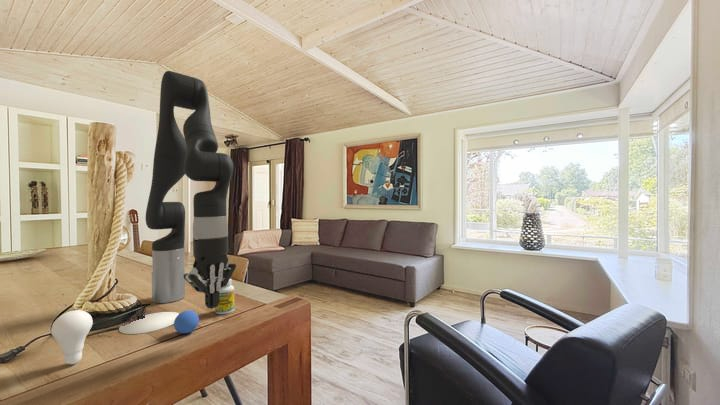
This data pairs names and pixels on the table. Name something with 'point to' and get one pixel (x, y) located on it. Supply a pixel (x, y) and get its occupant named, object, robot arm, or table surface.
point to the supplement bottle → (226, 299)
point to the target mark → (150, 323)
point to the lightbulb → (72, 333)
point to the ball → (186, 322)
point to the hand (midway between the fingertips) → (212, 307)
